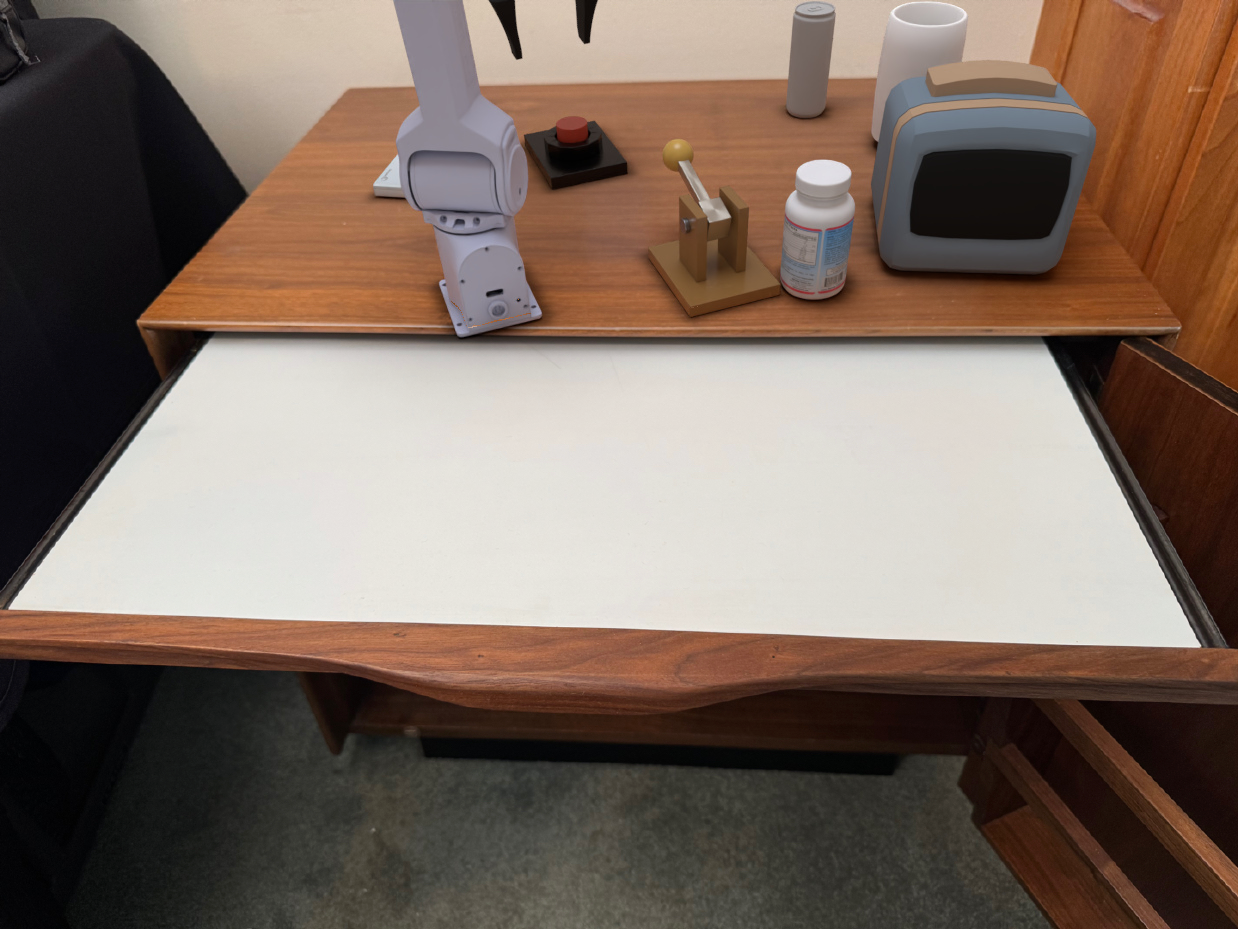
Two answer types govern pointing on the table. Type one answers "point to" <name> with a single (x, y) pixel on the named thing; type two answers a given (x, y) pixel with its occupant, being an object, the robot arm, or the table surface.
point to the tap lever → (697, 188)
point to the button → (572, 129)
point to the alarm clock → (979, 169)
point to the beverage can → (810, 58)
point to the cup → (917, 47)
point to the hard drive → (389, 181)
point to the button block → (575, 157)
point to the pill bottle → (817, 230)
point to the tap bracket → (712, 260)
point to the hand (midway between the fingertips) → (551, 47)
